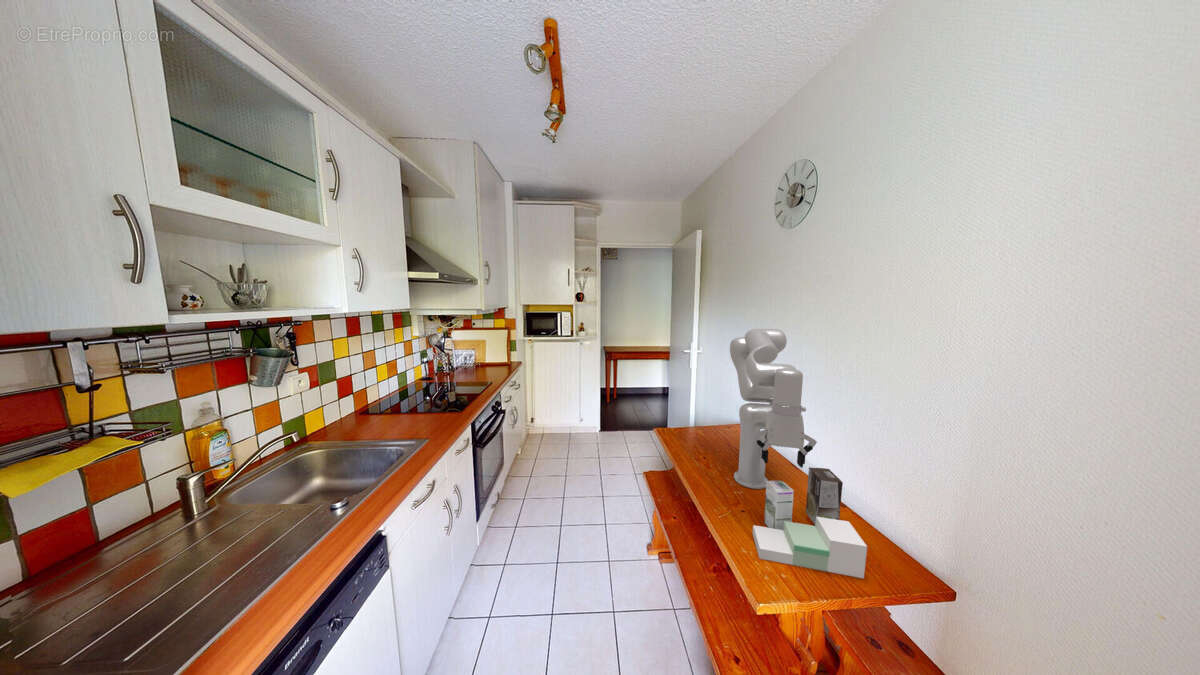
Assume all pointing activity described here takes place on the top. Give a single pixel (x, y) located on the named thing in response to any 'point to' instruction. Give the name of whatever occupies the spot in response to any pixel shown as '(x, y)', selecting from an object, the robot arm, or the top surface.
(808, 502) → the coffee box
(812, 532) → the stepped riser
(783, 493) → the syrup box
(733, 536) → the top surface
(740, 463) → the robot arm
